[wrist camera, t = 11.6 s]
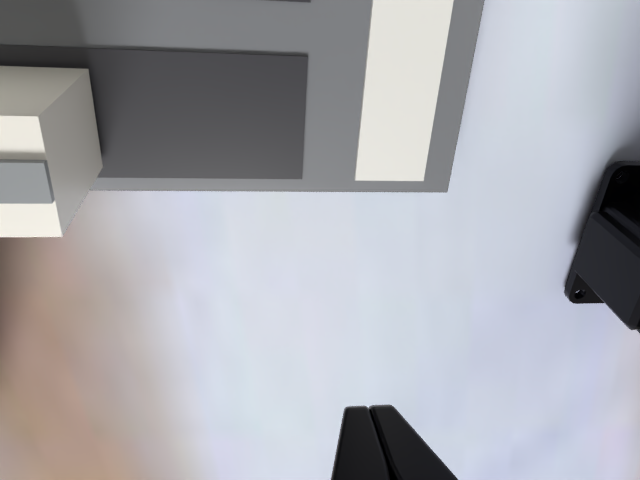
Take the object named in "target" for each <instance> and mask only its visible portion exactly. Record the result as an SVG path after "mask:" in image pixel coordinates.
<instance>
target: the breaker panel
mask: <svg viewBox="0 0 640 480" xmlns="http://www.w3.org/2000/svg"><path fill="white" fill-rule="evenodd" d="M483 5H484V0H0V66H20V67H50V68H80V69H88V70H89V76H90V83H91V90H92V97H93V104H94V110H95V117H96V124H97V131H98V137H99V144H100V151H101V158H102V165H103V167H102V169H101V171H100V173H99V174H98V176H97V178H96V180H95V181H94V183H93V185H92V186H91V188H90V190H107V191H288V192H447V191H448V186H449V181H450V176H451V170H452V165H453V160H454V155H455V150H456V145H457V139H458V134H459V129H460V124H461V119H462V114H463V108H464V103H465V98H466V93H467V88H468V83H469V77H470V72H471V67H472V62H473V57H474V52H475V47H476V41H477V36H478V31H479V26H480V21H481V16H482V10H483Z"/></svg>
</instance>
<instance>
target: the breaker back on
mask: <svg viewBox="0 0 640 480" xmlns="http://www.w3.org/2000/svg"><path fill="white" fill-rule="evenodd" d="M102 167H103V165H102V158H101V151H100V144H99V137H98V131H97V124H96V117H95V110H94V104H93V97H92V90H91V83H90V76H89V70H88V69H80V68H50V67H20V66H0V237H63V235H64V233H65V231H66V230H67V228H68V226H69V224H70V223H71V221H72V219H73V218H74V216H75V214H76V212H77V211H78V209H79V207H80V205H81V204H82V202H83V200H84V199H85V197H86V195H87V193H88V192H89V190H90V188H91V186H92V185H93V183H94V181H95V180H96V178H97V176H98V174H99V173H100V171H101V169H102Z"/></svg>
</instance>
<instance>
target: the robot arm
mask: <svg viewBox="0 0 640 480" xmlns="http://www.w3.org/2000/svg"><path fill="white" fill-rule="evenodd" d="M621 172H623V174H622V175H621V177H619V178H618V179H616V177H617V176H618V174H619V173H621ZM578 290H580V291H579V292H577V291H578ZM576 292H577V293H576ZM564 293H565V296H566V297H567V298H568V299H569V300H570V301H571V302H572V303H576V304H579V303H605V304H606V305H607V306H608V307H609V308H610V309H611V310H612V311H613V312H614V313H615V314H616V316H617V317H618V318H619V319H620V320H621V321H622V322H623V323H624V324H625V325H626V326H627V327H628V328H629V329H631V330H637V331H638V332H639V333H640V162H636V161H620V162H615V163H613V164H612V165H610V166H609V167H608V168H607V170H606V172H605V174H604V177H603V180H602V182H601V185H600V188H599V191H598V194H597V197H596V200H595V203H594V206H593V209H592V211H591V214H590V217H589V219H588V222H587V225H586V227H585V230H584V233H583V236H582V239H581V242H580V245H579V248H578V251H577V254H576V256H575V259H574V262H573V265H572V269H571V272H570V275H569V278H568V281H567V284H566V287H565V291H564ZM331 480H458V479H457V478H456V477H455V475H454V474H453V473H452V472H451V471H450V470H449V469H448V468H447V466H446V465H445V464H444V463H443V462H442V461H441V460H440V458H439V457H438V456H437V455H436V454H435V453H434V452H433V451H432V449H431V448H430V447H429V446H428V445H427V444H426V443H425V441H424V440H423V439H422V438H421V437H420V436H419V435H418V434H417V432H416V431H415V430H414V429H413V428H412V427H411V426H410V424H409V423H408V422H407V421H406V420H405V419H404V418H403V417H402V415H401V414H400V413H399V412H398V411H397V410H396V409H395V408H394V407H393V406H392V405H372V406H370V407H369V408H368V407H366V406H348V407H346V408H345V409H344V413H343V418H342V424H341V429H340V434H339V440H338V445H337V450H336V455H335V461H334V466H333V471H332V477H331Z"/></svg>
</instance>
